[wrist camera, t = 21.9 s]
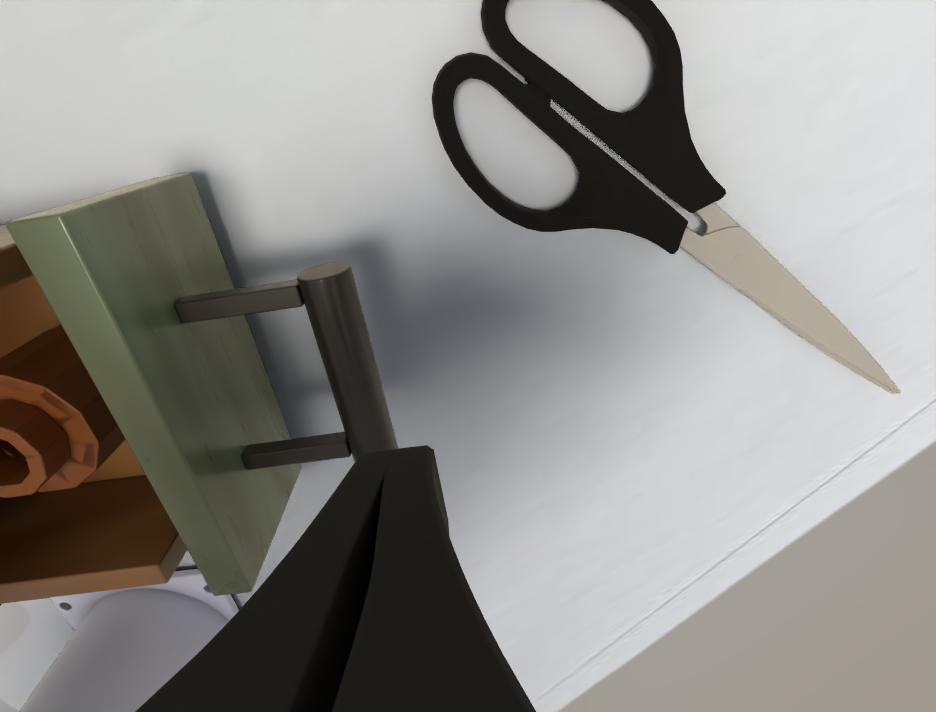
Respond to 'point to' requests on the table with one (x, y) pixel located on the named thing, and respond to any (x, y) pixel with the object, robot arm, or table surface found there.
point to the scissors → (654, 155)
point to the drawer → (170, 394)
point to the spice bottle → (50, 418)
